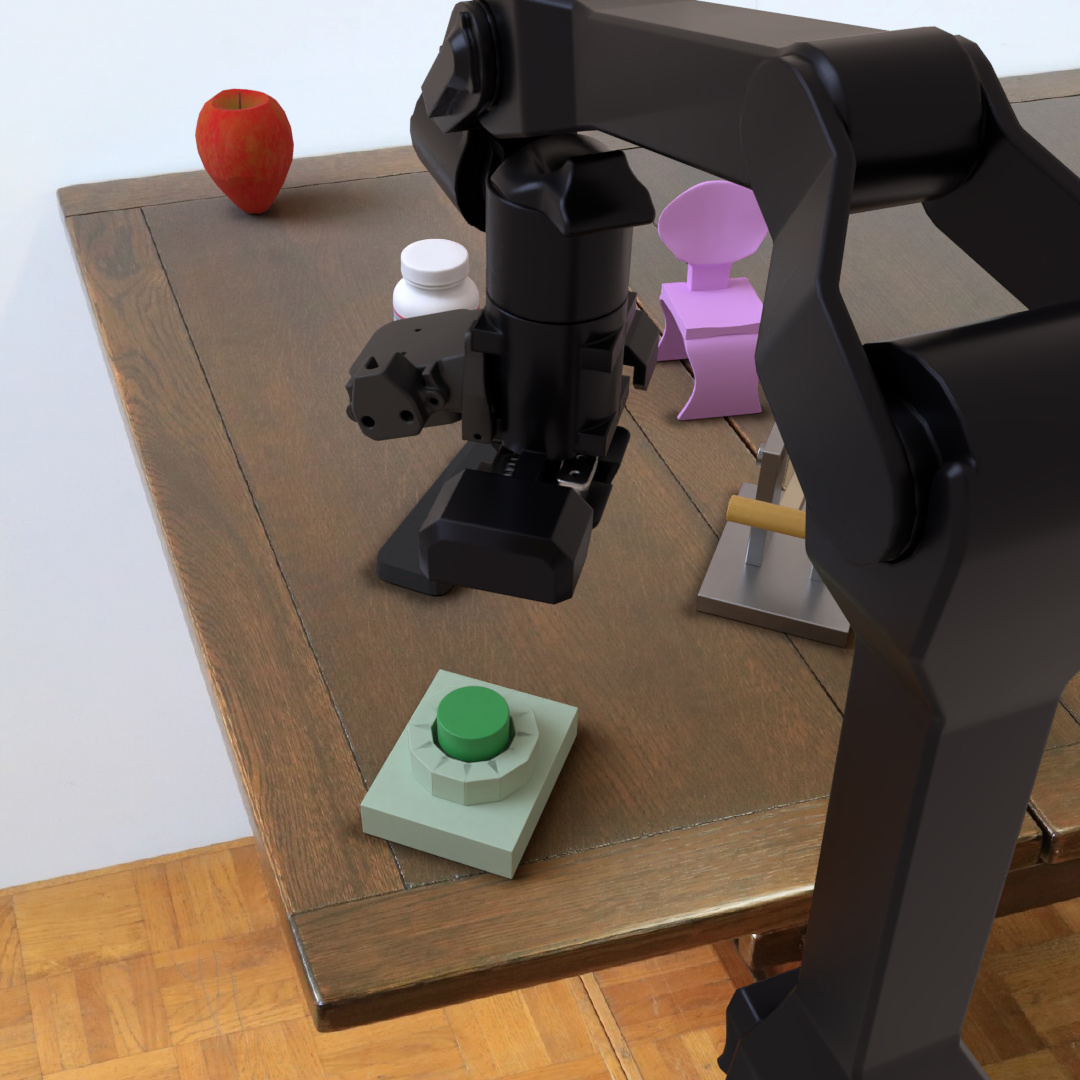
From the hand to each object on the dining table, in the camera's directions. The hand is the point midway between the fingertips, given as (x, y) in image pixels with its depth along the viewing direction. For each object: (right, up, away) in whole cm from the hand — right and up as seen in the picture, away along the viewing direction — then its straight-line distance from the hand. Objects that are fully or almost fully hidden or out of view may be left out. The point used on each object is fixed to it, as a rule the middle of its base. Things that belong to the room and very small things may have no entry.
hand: (545, 579), depth 63 cm
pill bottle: (-8, +13, +34) cm, 37 cm away
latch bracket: (+15, 0, +20) cm, 25 cm away
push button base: (-4, -11, +6) cm, 13 cm away
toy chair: (+12, +13, +36) cm, 40 cm away
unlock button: (-4, -8, +4) cm, 10 cm away
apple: (-26, +31, +56) cm, 69 cm away
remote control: (-5, +3, +23) cm, 24 cm away
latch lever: (+14, +4, +12) cm, 19 cm away
